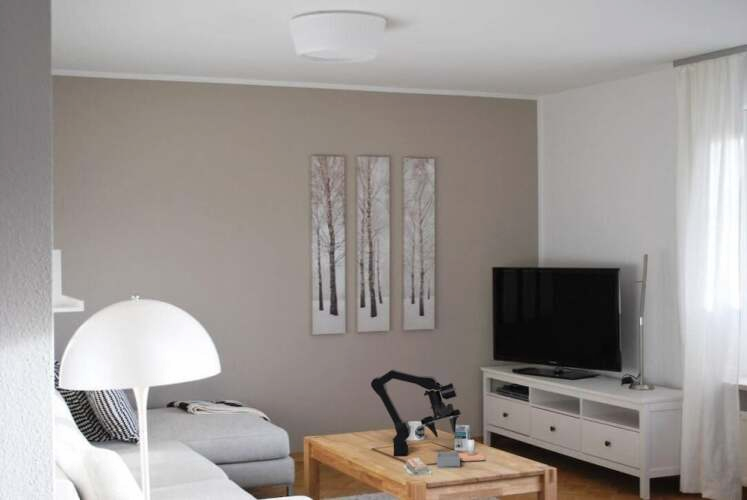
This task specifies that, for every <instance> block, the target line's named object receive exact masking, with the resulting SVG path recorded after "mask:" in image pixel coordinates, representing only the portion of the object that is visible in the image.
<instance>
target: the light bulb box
mask: <svg viewBox="0 0 747 500" xmlns="http://www.w3.org/2000/svg"><path fill="white" fill-rule="evenodd" d="M470 426H471V425H470V424H456V429H455V433H454V432H453V437H454V438H453V439H454V451H456V452H460V451H461V452H462V451H465V452H466V451H467V452H468V442H467V440H471V428H470Z"/></svg>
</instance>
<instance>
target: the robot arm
mask: <svg viewBox="0 0 747 500" xmlns="http://www.w3.org/2000/svg"><path fill="white" fill-rule="evenodd" d="M393 379H394V380H397V381H401V382H406V383H410V384H413V385H414V384H415V385H417V386H420V387H421V388H423V389H426V390H425V391H424V393H423V396H424V397H428V399H429V403H430V409H431V410H432V413H433V415H429V416H425V417H422V418H421V419H420V422H421V424H422V425H425V427H427V428H428V429H429V430H430V431H431V432H432V434H433V435H434V436H435V438H438V437H439V436H438V432H437V429H436V427H435V425H436V424H435V422H434V421H438V420H439V421H440V420H441V419H442V420H443V419H446V418H449V419H448V420H449V423H450V426H451V430H452V432H453V434H454V433H455V429H456V425H457V420H458V418H460V415H462V413H461V410H460V409H455V408H454V405H453V403H447V405H446V404H445V402H443V399H444V400H449V399H450V400H451V399H453V398H457V397H458V392H457V390H456V387H455V385H454V383H453V382H450V383H448V384H445V385H442V384H441V383H440V382H439V381H438V380H437V379H436V377H435V376H432V375H417V374H412V373H408V372H404V371H399V370H397V369H391V370H389V371H388V372H386V373H385V374H383V375H381V376H376V377H375V378H373V379H372V380H371V383H370V386H371V388H372V389H373V391H374V392H375V394H376V395H378V396H379V397H380V399H381V401H382V403H383V405H384V407H385V409H386V410H387V413H388V414H389V417H390V419H391V420H392V422H393V423H394V429H395V432H396V434H395V436H394V437H393V439H392V441H393V457H402V456H403V457H405V456H406V457H407V456H408V454H409V444H408V443H407V442H408V440H406V439H407V438H408V437H409V435H410V433H411V430H410V428H411V427H410V426H409V424H408V422H409V421H408V420H403V418H402V417H401V415H400V413H399V411H398V410H397V408H396V405H395V404H394V402H393V400H392V398H391V396H390V394H389V391H388V388H387V383H389V382H390V381H391V380H393Z"/></svg>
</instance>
